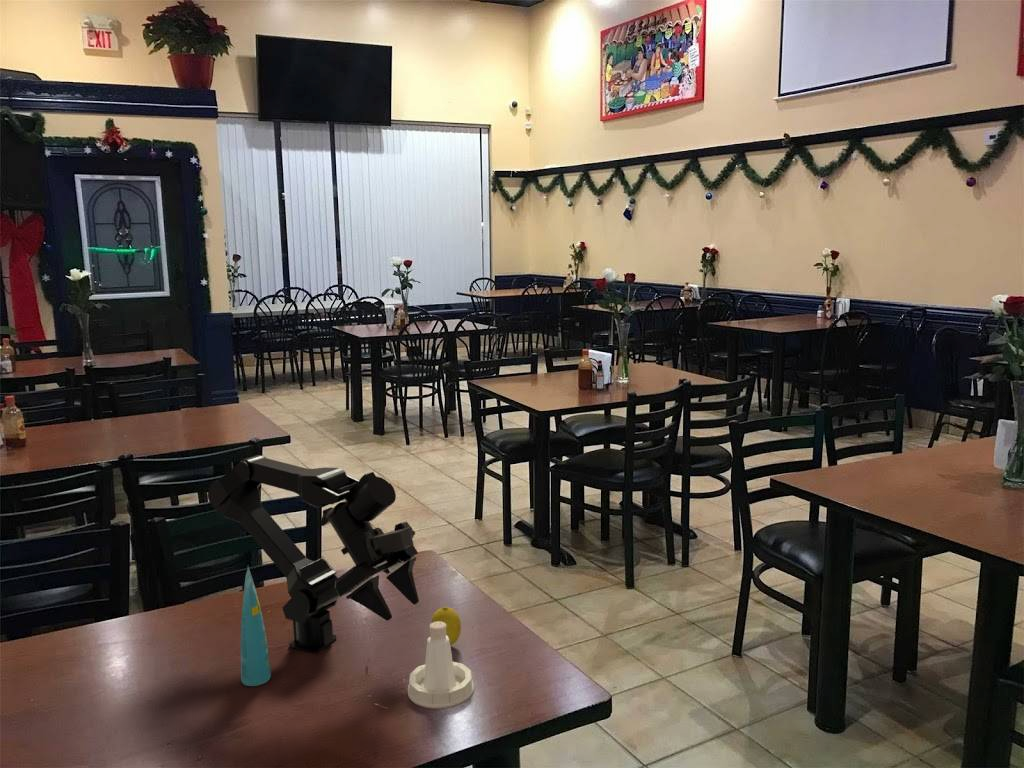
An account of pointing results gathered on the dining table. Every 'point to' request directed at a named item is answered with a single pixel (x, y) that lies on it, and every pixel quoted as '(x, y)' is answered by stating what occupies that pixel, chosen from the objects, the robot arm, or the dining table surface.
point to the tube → (253, 639)
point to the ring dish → (441, 697)
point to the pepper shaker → (438, 659)
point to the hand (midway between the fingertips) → (403, 611)
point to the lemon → (449, 622)
